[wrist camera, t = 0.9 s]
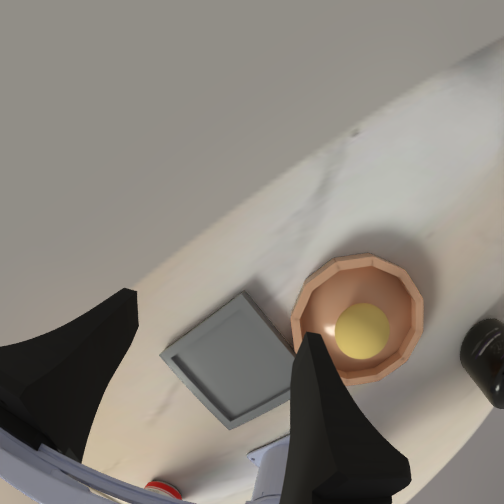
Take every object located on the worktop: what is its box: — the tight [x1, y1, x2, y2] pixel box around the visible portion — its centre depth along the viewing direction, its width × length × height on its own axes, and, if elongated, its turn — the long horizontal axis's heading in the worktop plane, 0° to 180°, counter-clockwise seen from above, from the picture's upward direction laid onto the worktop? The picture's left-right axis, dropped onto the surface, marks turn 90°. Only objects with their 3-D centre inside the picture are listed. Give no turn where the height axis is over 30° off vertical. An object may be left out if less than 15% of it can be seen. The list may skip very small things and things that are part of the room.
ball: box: [335, 303, 390, 359], centre depth 26 cm, size 5×5×5 cm
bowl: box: [290, 253, 423, 386], centre depth 28 cm, size 13×13×2 cm
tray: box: [159, 290, 296, 430], centre depth 31 cm, size 12×12×1 cm
